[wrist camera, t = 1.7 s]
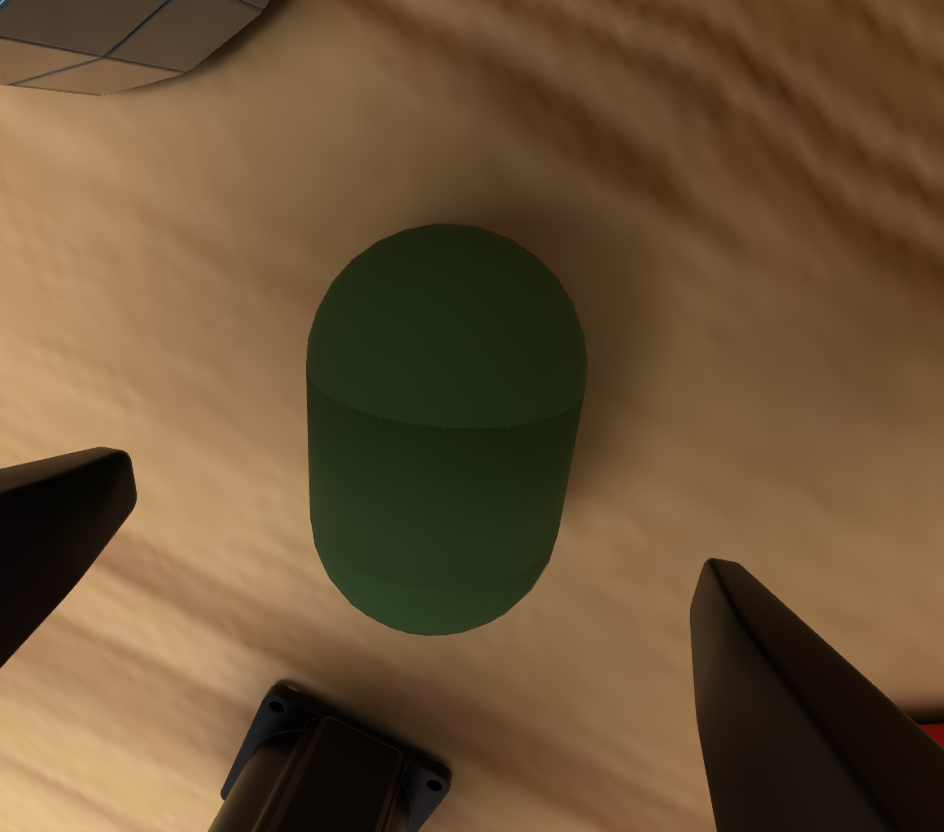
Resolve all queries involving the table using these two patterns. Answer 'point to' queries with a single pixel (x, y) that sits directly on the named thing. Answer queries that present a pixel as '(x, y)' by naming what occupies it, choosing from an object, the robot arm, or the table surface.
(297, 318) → the table surface
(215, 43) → the bowl
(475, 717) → the table surface
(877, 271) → the table surface
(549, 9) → the table surface
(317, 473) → the green rounded cylinder
